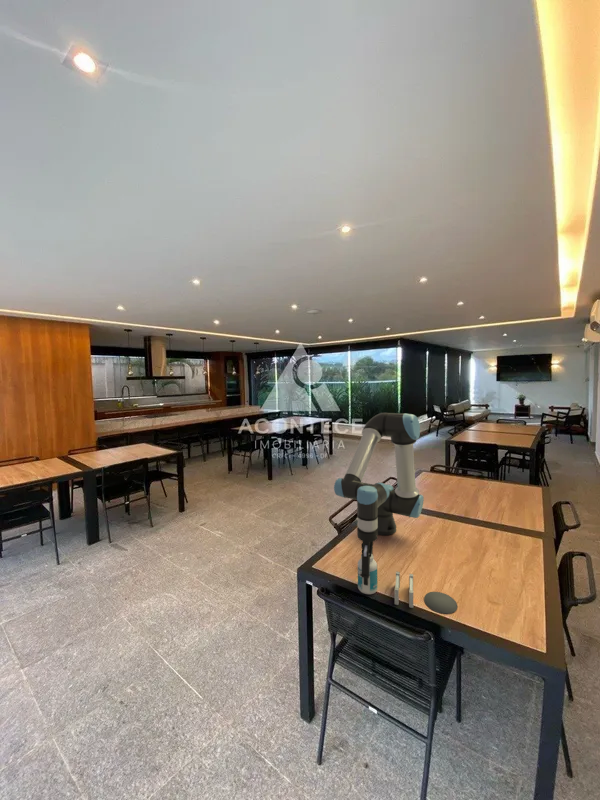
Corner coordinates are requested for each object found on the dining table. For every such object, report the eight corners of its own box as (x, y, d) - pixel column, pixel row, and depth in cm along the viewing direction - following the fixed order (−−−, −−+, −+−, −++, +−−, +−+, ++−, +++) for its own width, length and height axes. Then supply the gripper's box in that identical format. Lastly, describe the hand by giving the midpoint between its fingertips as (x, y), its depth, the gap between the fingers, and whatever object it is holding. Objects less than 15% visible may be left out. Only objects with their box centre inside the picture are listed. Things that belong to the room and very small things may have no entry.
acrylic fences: (395, 584, 129) (395, 571, 128) (413, 588, 127) (413, 574, 126) (394, 604, 118) (394, 589, 117) (413, 608, 116) (413, 593, 115)
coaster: (423, 590, 125) (423, 589, 125) (455, 596, 122) (455, 594, 122) (424, 609, 115) (424, 608, 115) (459, 616, 111) (459, 615, 111)
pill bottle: (374, 582, 130) (374, 549, 129) (379, 595, 123) (379, 560, 122) (355, 583, 130) (355, 550, 129) (359, 595, 123) (359, 561, 122)
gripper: (361, 515, 135) (361, 568, 137) (353, 539, 116) (353, 600, 118) (379, 517, 133) (379, 571, 135) (374, 542, 114) (374, 604, 116)
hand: (367, 584), depth 126 cm, fingers closed on pill bottle, 7 cm apart
